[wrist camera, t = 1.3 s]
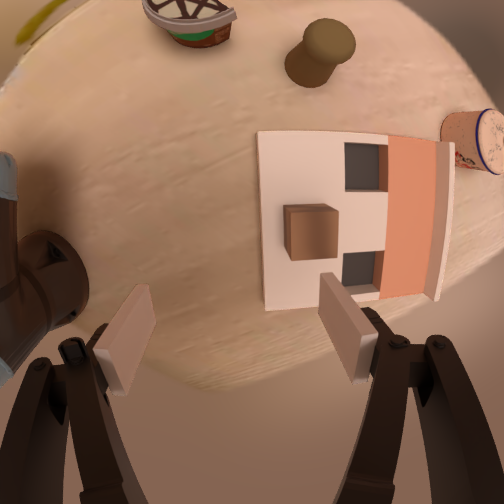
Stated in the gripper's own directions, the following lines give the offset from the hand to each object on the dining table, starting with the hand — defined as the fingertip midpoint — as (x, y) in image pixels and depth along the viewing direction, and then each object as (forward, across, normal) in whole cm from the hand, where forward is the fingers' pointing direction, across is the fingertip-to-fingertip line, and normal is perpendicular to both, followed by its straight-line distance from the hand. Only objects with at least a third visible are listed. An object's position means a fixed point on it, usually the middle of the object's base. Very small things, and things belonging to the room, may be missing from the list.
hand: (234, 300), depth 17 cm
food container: (+21, -5, +26) cm, 34 cm away
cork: (+21, +10, +20) cm, 31 cm away
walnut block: (+18, +8, 0) cm, 19 cm away
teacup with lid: (+21, +36, +12) cm, 43 cm away
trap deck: (+21, +15, 0) cm, 26 cm away
